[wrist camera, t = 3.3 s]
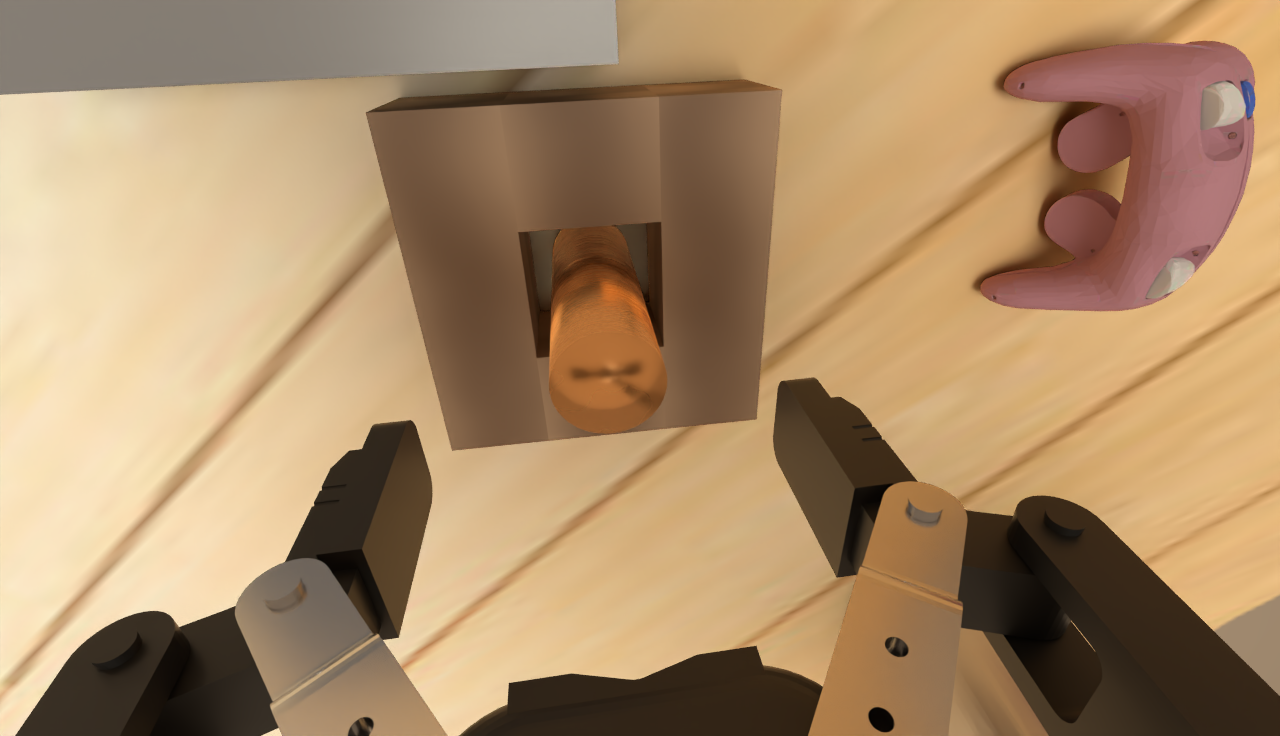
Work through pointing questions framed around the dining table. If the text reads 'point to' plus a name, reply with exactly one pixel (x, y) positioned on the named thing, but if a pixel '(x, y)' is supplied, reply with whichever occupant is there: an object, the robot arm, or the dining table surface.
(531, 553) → the dining table surface
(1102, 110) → the video game controller
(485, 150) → the pin mount
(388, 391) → the dining table surface
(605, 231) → the pin
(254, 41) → the dock socket
